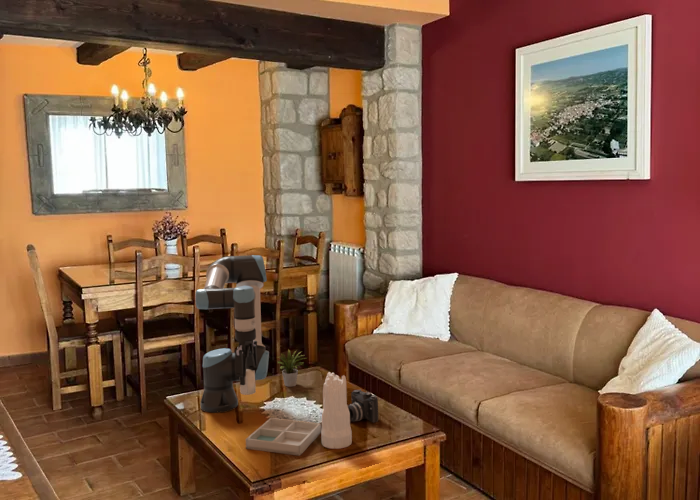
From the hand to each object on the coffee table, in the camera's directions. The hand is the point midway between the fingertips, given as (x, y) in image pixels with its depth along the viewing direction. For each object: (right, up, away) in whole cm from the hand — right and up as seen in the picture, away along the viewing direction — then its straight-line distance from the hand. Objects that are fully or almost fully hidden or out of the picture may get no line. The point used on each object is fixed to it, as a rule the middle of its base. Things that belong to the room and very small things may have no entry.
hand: (247, 389), depth 247 cm
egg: (0, -1, 0) cm, 1 cm away
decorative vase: (+33, -17, -10) cm, 38 cm away
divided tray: (+14, -17, -7) cm, 23 cm away
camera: (+41, -14, +12) cm, 45 cm away
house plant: (+11, -9, +52) cm, 54 cm away
